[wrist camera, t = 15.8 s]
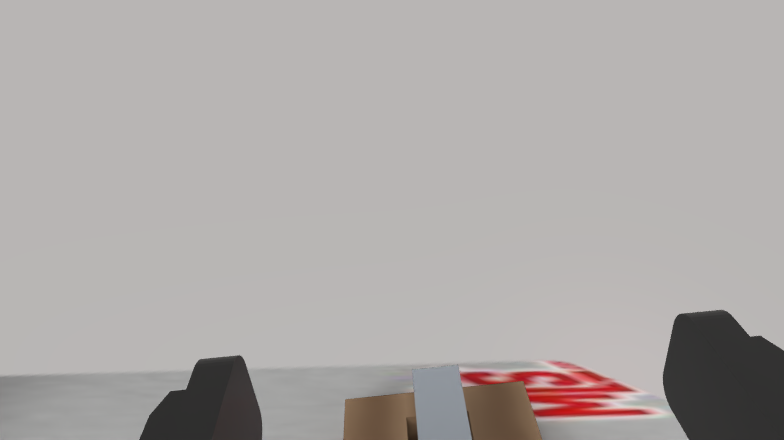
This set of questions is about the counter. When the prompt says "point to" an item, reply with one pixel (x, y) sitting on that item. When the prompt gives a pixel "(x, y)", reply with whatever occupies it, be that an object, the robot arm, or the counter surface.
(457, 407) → the domino
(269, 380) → the counter surface
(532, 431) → the rack
